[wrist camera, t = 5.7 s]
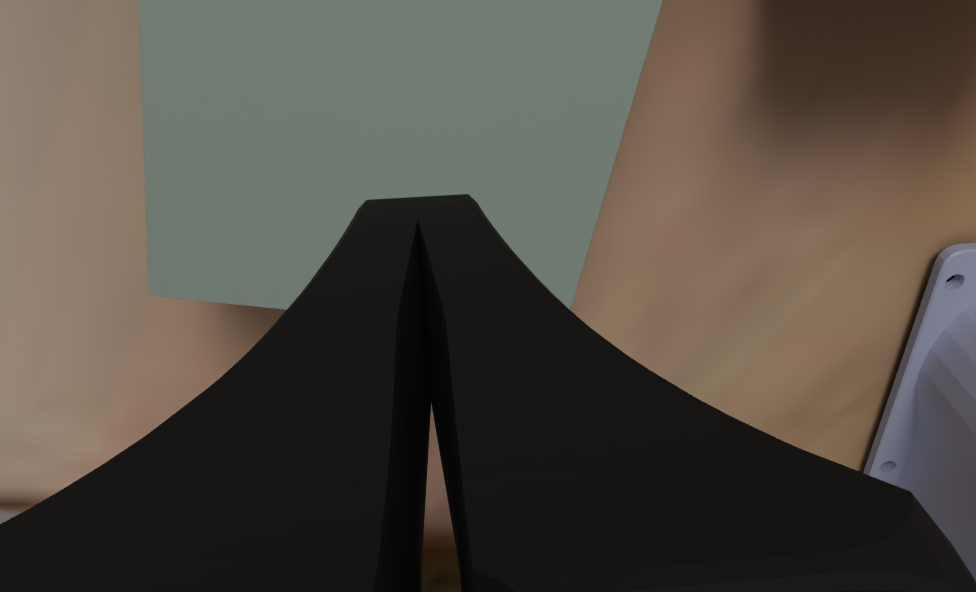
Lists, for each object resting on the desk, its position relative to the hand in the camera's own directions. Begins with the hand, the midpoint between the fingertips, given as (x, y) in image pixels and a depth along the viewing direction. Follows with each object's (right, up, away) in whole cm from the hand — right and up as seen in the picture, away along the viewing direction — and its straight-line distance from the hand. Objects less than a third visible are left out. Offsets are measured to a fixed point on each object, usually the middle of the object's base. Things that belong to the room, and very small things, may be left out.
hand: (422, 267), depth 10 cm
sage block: (-1, +5, +8) cm, 10 cm away
